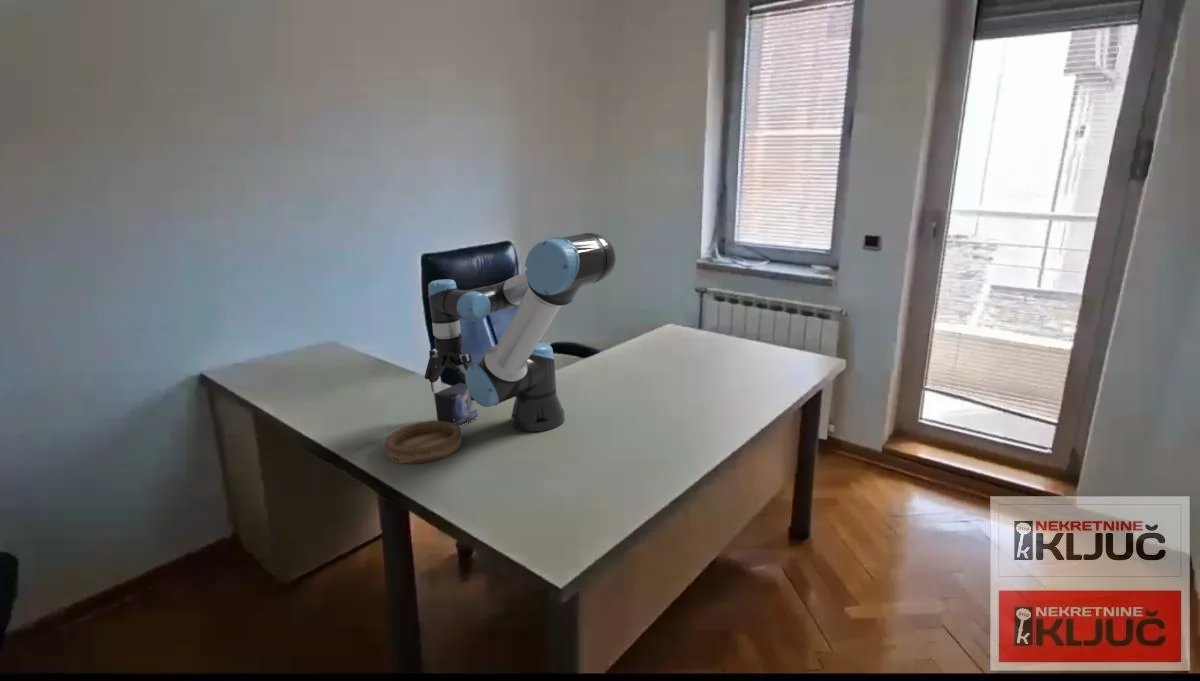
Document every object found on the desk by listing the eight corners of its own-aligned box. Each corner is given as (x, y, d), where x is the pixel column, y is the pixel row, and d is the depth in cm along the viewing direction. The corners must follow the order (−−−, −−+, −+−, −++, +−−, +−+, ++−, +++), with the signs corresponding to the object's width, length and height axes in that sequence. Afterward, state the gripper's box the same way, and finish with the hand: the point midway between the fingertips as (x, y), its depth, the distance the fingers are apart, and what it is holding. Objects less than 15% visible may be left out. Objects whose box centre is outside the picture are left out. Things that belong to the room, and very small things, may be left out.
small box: (453, 431, 173) (449, 396, 170) (437, 428, 176) (432, 393, 174) (479, 418, 181) (475, 384, 179) (463, 415, 185) (459, 382, 182)
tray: (476, 440, 166) (475, 427, 165) (423, 469, 151) (421, 456, 150) (427, 428, 176) (425, 417, 175) (372, 455, 161) (370, 442, 160)
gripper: (490, 336, 169) (497, 408, 174) (426, 327, 182) (434, 395, 187) (471, 343, 163) (479, 418, 168) (406, 334, 175) (415, 403, 181)
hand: (455, 406), depth 178 cm, fingers open, 13 cm apart
